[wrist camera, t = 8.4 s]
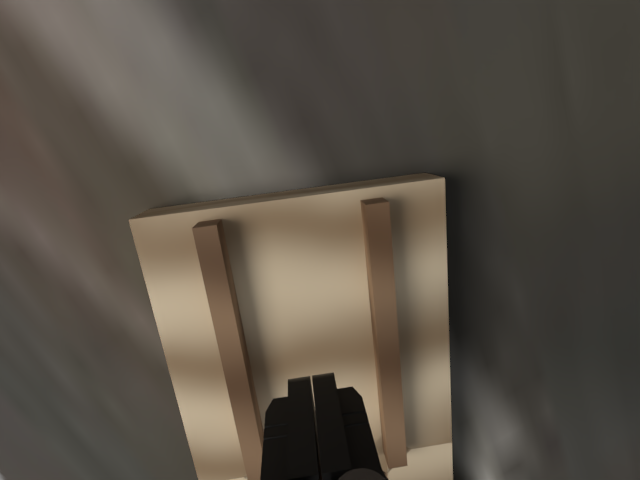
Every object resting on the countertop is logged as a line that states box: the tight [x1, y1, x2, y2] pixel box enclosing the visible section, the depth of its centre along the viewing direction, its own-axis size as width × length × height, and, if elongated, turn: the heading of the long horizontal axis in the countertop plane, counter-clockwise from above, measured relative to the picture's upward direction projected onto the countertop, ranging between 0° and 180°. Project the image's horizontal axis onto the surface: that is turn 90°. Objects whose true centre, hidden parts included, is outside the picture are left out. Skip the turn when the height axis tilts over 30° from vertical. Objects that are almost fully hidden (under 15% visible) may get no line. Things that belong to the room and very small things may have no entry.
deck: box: [129, 173, 453, 480], centre depth 20 cm, size 24×14×4 cm, turn 7°
